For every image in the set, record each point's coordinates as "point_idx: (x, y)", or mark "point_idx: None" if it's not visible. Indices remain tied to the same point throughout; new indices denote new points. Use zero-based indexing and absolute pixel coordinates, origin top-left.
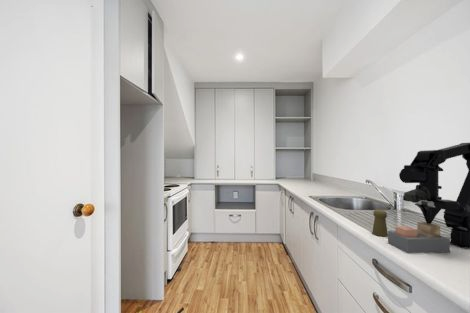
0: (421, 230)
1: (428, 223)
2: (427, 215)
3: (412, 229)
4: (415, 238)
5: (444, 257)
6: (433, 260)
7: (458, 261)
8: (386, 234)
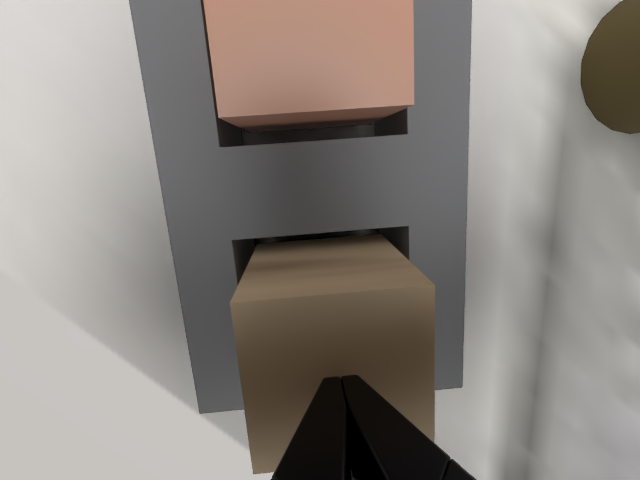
0: (343, 260)
1: (323, 379)
2: (315, 469)
3: (229, 45)
4: (165, 47)
5: (126, 237)
6: (47, 102)
7: (65, 277)
8: (603, 91)
